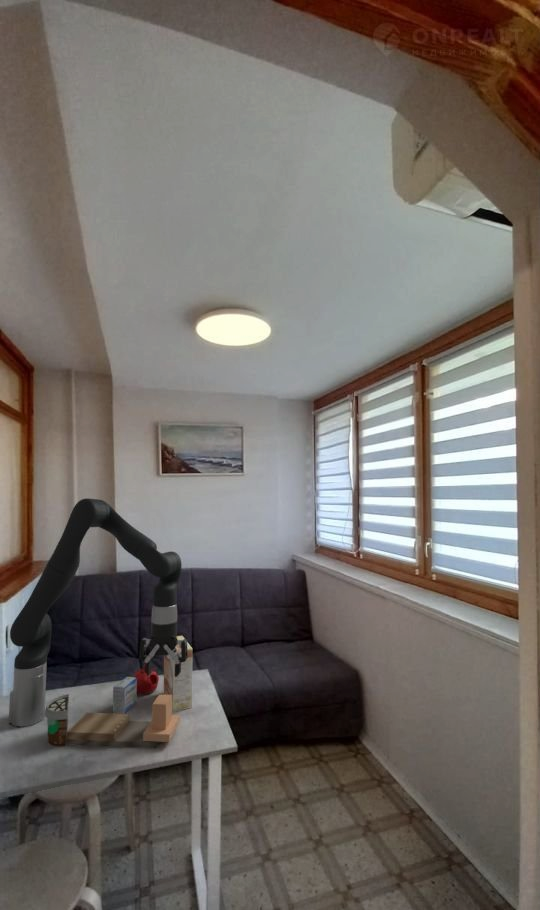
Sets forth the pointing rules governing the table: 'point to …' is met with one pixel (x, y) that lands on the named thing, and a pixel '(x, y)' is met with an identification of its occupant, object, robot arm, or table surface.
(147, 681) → the pomegranate
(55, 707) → the food container
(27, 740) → the table surface
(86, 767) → the table surface
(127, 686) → the medicine box
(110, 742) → the board
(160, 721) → the stub
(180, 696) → the coffeecake box
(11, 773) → the table surface
